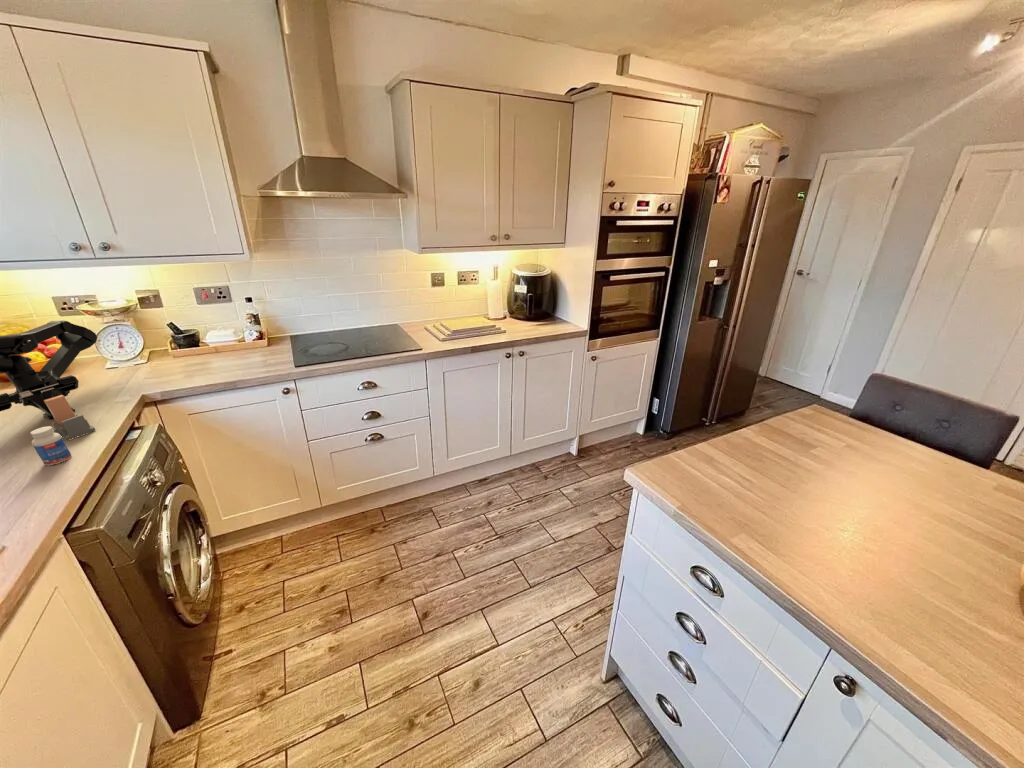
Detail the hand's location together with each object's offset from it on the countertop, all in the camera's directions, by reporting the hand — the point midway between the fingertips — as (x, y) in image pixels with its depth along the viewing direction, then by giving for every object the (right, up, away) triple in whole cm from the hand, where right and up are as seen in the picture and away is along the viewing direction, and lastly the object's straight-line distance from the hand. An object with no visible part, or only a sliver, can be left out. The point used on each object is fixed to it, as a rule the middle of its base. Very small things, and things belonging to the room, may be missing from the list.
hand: (53, 415), depth 126 cm
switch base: (+6, -5, +1) cm, 8 cm away
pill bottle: (+16, -12, -13) cm, 24 cm away
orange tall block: (+4, -4, +1) cm, 5 cm away
